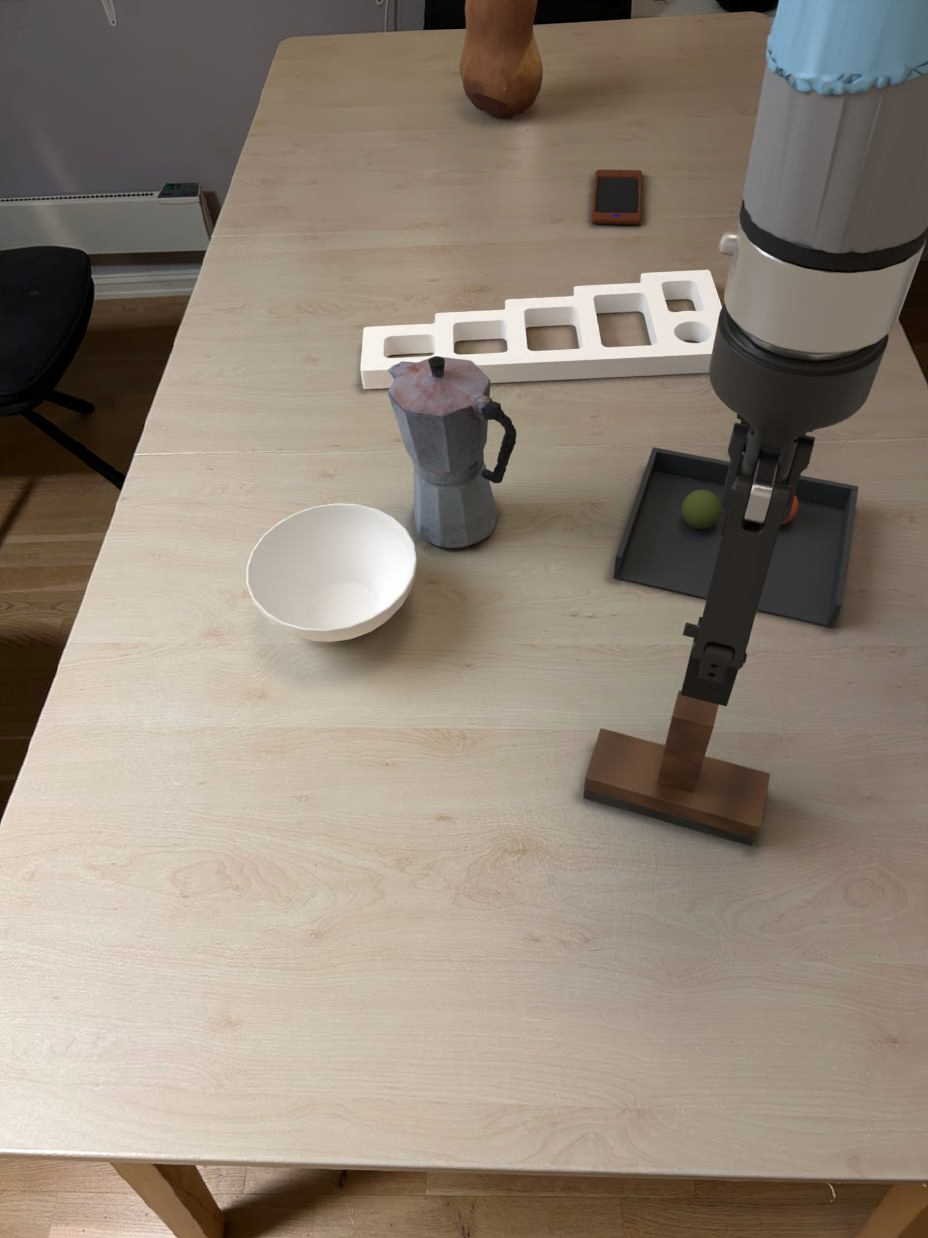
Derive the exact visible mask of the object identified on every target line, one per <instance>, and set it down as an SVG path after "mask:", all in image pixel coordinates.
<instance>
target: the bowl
mask: <svg viewBox="0 0 928 1238" xmlns="http://www.w3.org/2000/svg"><path fill="white" fill-rule="evenodd" d="M417 566H418V558H417V552H416V546H415V542H414V541H413V539H412V537H411V535H410V534H409V531H408V530H407V528H406V527H404V526H403V525H402V524H401V523H400V522H399V521H398V520H397V519H396V518H395V517H393V516H391V515H390V514H387V513H385V512H383V511H382V510H379V509H377V508H375V507H371V506H367V505H362V504H359V503H342V502H341V503H340V502H337V503H329V504H320V505H315V506H311V507H309V508H306V509H302V510H300V511H297V512H294V513H292V514H291V515H289V516H287V517H285V518H284V519H281V521H278V522H276V524H274V525H273V526H272V527H271V528H270V529H268V531H266V532H265V533H264V534H263V535H262V536H261V537H260V539H259V540H258V542H257V543H256V545H254V548H253V549H252V550H251V553H250V555H249V559H248V561H247V565H246V569H245V570H246V573H245V574H246V575H245V576H246V577H245V578H246V587H247V589H248V592H249V595H250V597H251V599H252V602H253V603H254V605H255V607H256V608H257V609H258V610H259V612H260V613H261V614H262V615H263V616H264V617H265V618H266V619H267V621H269V622H270V623H271V624H272V625H274V626H275V627H277V628H279V629H280V630H281V631H284V633H287V634H289V635H290V636H294V637H298V638H301V639H305V640H308V641H311V642H325V643H326V642H328V643H335V642H340V641H341V642H342V641H348V640H352V639H355V638H358V637H360V636H363V635H366V634H368V633H371V632H373V631H374V630H376V629H377V628H379V627H380V626H382V625H383V624H385V623H386V622H388V621H389V620H390V619H391V618H392V617H393V615H395V614H396V612H398V610H399V609H400V608H401V607H402V606H403V605H404V603H405V601H406V600H407V597H408V596H409V594H410V592H411V590H412V588H413V585H414V583H415V577H416V571H417Z"/></svg>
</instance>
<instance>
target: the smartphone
mask: <svg viewBox="0 0 928 1238" xmlns="http://www.w3.org/2000/svg"><path fill="white" fill-rule="evenodd" d="M593 188H594V189H593V197H592V209H591V223H592V224H595V225H631V226H636V225H637V226H638V225H640V224H641V223H642V201H643V200H642V197H643V195H642V194H643V193H642V192H643V171H642V170H640V169H597V170H595V175H594V185H593Z"/></svg>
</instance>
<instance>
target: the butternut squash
mask: <svg viewBox="0 0 928 1238" xmlns="http://www.w3.org/2000/svg"><path fill="white" fill-rule="evenodd" d="M537 7H538V0H465V3H464V16H465V38H464V42H463V47H462V53H461V57H460V62H459V74H460V78H461V81H462V87H463V90H464V94H465V95H466V97H467V98H468V100H469V101H470V103H471V104H472V105H473V106H474V107H475V108H476V109H478V110H479V111H482V112H484V113H488V114H490V115H492V116H494V118H496V119H509V120H511V119H512V118H514V117H515V116H518V115H521V114H524V113H525V112H526V111H528V110H529V109H530V108H531V107H532V106H533V105H534V103H535V102H536V100H537V97H538V95H539V93H540V91H541V88H542V84H543V78H544V65H543V61H542V56H541V52H540V49H539V46H538V43H537V40H536V38H535V32H534V23H535V18H536V13H537Z"/></svg>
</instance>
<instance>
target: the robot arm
mask: <svg viewBox="0 0 928 1238" xmlns="http://www.w3.org/2000/svg"><path fill="white" fill-rule="evenodd" d="M765 59H766V61H765V67H764V73H763V79H762V85H761V91H760V96H759V102H758V106H757V107H758V108H757V114H756V120H755V125H754V131H753V135H752V136H753V137H752V143H751V149H750V153H749V159H748V164H747V170H746V175H745V180H744V186H743V190H742V191H743V192H742V197H741V200H742V201H741V206H740V210H739V215H738V216H739V221H738V223H737V226H736V227H737V228H736V231H732V230H731V231H730V230H729V231H728V230H726V231H724V232H723V233H722V234H721V235H720V238H719V240H718V247H717V249H718V251H719V252H720V253H721V255H726V256H731V257H732V258H731V261H730V264H729V268H728V273H727V277H726V283H725V289H724V302H723V303H724V304H723V305H722V309H721V311H720V314H719V319H718V324H717V329H716V334H715V339H714V345H713V350H712V355H711V360H710V365H709V373H708V376H709V382H710V385H711V387H712V389H713V391H714V393H715V395H716V396H717V397H718V399H719V400H720V401H721V402H722V403H723V404H724V405H725V406H726V407H727V408H728V409H729V410H731V412H734V413H736V419H737V420H740V422H734V424H733V427H732V431H731V435H730V440H729V443H728V448H727V454H728V457H729V459H730V460H729V462H730V465H729V469H728V473H727V477H726V481H725V485H724V489H723V493H722V498H721V506H722V508H723V509H724V510H725V511H726V516H725V520H724V524H723V528H722V532H721V535H723V536H722V540H721V544H720V548H719V552H718V556H717V560H716V564H715V568H714V572H713V576H712V580H711V584H710V588H709V592H708V596H707V599H705V606H704V609H703V613H702V616H699V617H698V621H697V624H695V623H690V622H685V624H684V627H683V632H682V636H685V637H688V638H692V639H693V642H692V646H691V649H690V652H689V653H690V654H689V658H688V661H687V666H686V670H685V674H684V678H683V683H682V687H681V690H680V691H681V695H683V696H687V697H691V698H695V699H699V700H702V701H706V702H710V703H714V704H718V705H719V706H723V707H728V704H729V701H730V697H731V696H732V695H731V694H732V691H733V689H734V685H735V681H736V679H737V676H738V672H739V670H741V669H743V667H744V664H746V661H747V658H748V653H747V648H748V645H749V642H750V638H751V633H752V630H753V627H754V623H755V618H756V616H757V613H758V611H757V608H758V605H759V601H760V597H761V594H762V590H763V587H764V583H765V579H766V576H767V572H768V568H769V565H770V561H771V558H772V554H773V550H774V547H775V543H776V539H777V536H778V532H779V529H780V526H781V522H782V521H785V520H786V519H787V518H788V517H789V515H790V512H791V508H792V505H793V501H794V497H795V493H796V489H797V486H798V482H799V478H800V475H801V474H802V473H803V472H804V471H805V470H807V468H808V466H809V465H810V461H811V457H812V453H813V450H814V445H815V441H816V436H812V435H807V433H814V431H816V430H819V429H825V428H828V427H829V428H830V427H832V426H834V425H838V424H840V423H842V422H843V421H846V420H847V419H850V418H851V417H852V416H853V415H856V413H857V412H858V411H860V409H861V408H862V407H863V406H864V405H865V403H866V402H867V401H868V399H869V395H870V393H871V391H872V388H873V385H874V382H875V380H876V376H877V375H878V372H879V368H880V365H881V363H882V360H883V358H884V355H885V352H886V349H887V346H888V343H889V338H890V337H889V335H890V333H891V332H892V331H893V330H894V328H895V326H896V324H897V322H898V320H899V317H900V314H901V313H902V312H901V311H902V310H903V307H904V304H905V300H906V298H907V295H908V292H909V290H910V288H911V284H912V282H913V279H914V277H915V273H916V270H917V268H918V265H919V262H920V260H921V257H922V254H923V251H924V250H925V249H924V248H925V246H926V243H927V237H928V0H778V4H777V8H776V12H775V17H774V20H773V23H772V25H771V26H770V30H769V34H768V35H767V39H766V51H765ZM744 452H745V455H744ZM788 473H789V474H788ZM787 475H788V478H787ZM801 476H802V475H801ZM786 478H787V482H786V485H784V482H785V480H786Z"/></svg>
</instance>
